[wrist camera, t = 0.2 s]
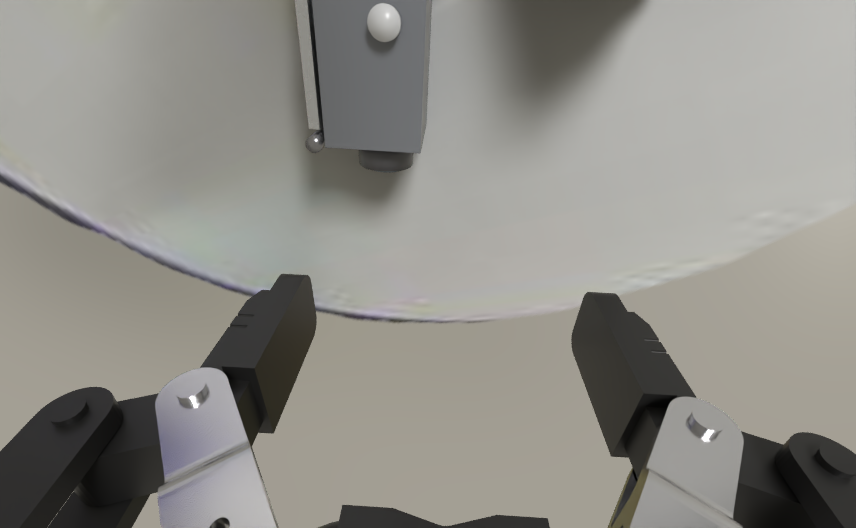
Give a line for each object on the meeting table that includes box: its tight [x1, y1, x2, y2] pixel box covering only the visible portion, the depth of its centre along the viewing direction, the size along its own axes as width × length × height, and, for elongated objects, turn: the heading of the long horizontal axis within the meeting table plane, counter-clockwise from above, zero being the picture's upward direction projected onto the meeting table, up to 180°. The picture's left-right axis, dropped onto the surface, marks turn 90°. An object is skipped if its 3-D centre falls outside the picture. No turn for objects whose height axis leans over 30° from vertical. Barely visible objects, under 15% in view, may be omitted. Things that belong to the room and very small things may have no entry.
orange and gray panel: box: [295, 0, 325, 153], centre depth 28 cm, size 19×1×8 cm, turn 177°
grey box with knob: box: [312, 0, 432, 172], centre depth 30 cm, size 12×7×10 cm, turn 177°
